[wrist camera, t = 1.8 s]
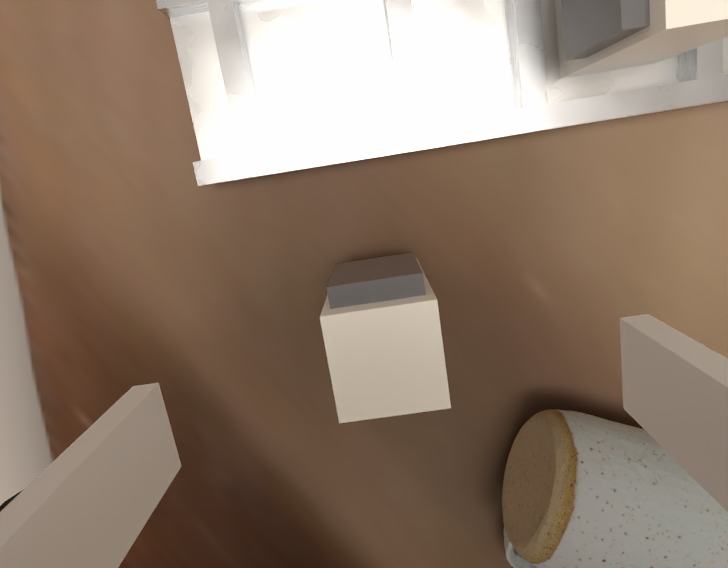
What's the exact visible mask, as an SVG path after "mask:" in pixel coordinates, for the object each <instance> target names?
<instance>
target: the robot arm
mask: <svg viewBox="0 0 728 568" xmlns="http://www.w3.org/2000/svg"><path fill="white" fill-rule="evenodd" d="M620 337H621V363H622V389H623V409H624V410H625V411H626V412H627V413H628V414H629V415H630V416H631V417H632V418H633V419H634V420H635V421H636V422H637V423H638V424H639V425H640V426H641V427H642V428H643V429H644V430H645V431H646V432H647V433H648V434H649V435H650V436H651V437H652V438H653V439H654V440H655V441H657V442H658V443H659V444H660V445H661V446H662V447H663V448H664V449H665V450H666V451H667V452H668V453H669V454H670V455H671V456H672V457H673V458H674V459H675V460H676V461H677V462H678V463H679V464H680V465H681V466H682V467H683V468H684V469H685V470H686V471H687V472H688V473H689V474H690V475H691V476H692V477H693V478H694V479H695V480H696V481H697V482H698V483H699V484H700V485H701V486H702V487H703V488H704V489H705V490H706V491H707V492H708V493H709V494H710V495H711V496H712V497H713V498H714V499H715V500H716V501H717V502H718V503H719V504H720V505H721V506H722V507H723V508H724V509H725V510H726V511H727V512H728V359H727V358H726V357H724V356H722V355H720V354H719V353H717V352H715V351H713V350H711V349H710V348H708V347H706V346H704V345H703V344H701V343H699V342H697V341H695V340H694V339H692V338H690V337H688V336H687V335H685V334H683V333H681V332H679V331H678V330H676V329H674V328H672V327H671V326H669V325H667V324H665V323H663V322H662V321H660V320H658V319H656V318H655V317H653V316H651V315H649V314H643V315H636V316H629V317H622V318H620ZM180 468H181V463H180V459H179V456H178V452H177V448H176V445H175V441H174V437H173V434H172V430H171V426H170V423H169V419H168V415H167V412H166V408H165V405H164V401H163V397H162V394H161V390H160V386H159V383H153V384H146V385H139V386H133V387H132V388H131V389H130V390H129V391H127V392H126V393H125V394H124V395H123V396H122V397H121V398H120V399H119V400H118V401H117V402H116V403H115V404H114V405H113V406H112V407H111V408H109V409H108V410H107V411H106V412H105V413H104V414H103V415H102V416H101V417H100V418H99V419H98V420H97V421H96V422H95V423H94V424H93V425H92V426H90V427H89V428H88V429H87V430H86V431H85V432H84V433H83V434H82V435H81V436H80V437H79V438H78V439H77V440H76V441H75V442H74V443H72V444H71V445H70V446H69V447H68V448H67V449H66V450H65V451H64V452H63V453H62V454H61V455H60V456H59V457H58V458H57V459H56V460H55V461H53V462H52V463H51V464H50V465H49V466H48V467H47V468H46V469H45V470H44V471H43V472H42V473H41V474H40V475H39V476H38V477H37V478H35V480H33V481H32V482H31V483H30V484H29V485H28V486H27V487H26V488H25V489H24V490H22V491H21V492H19V493H17V494H16V495H14V496H13V497H11V498H10V499H8V500H7V501H5V502H4V503H3V504H2V505H1V506H0V568H118V567H119V565H120V564H121V562H122V561H123V559H124V557H125V556H126V554H127V553H128V551H129V549H130V548H131V546H132V545H133V543H134V541H135V540H136V538H137V536H138V535H139V533H140V532H141V530H142V528H143V527H144V525H145V524H146V522H147V520H148V519H149V517H150V516H151V514H152V512H153V511H154V509H155V508H156V506H157V504H158V503H159V501H160V500H161V498H162V496H163V495H164V493H165V492H166V490H167V488H168V487H169V485H170V484H171V482H172V480H173V479H174V477H175V476H176V474H177V472H178V471H179V469H180Z"/></svg>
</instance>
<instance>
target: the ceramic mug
mask: <svg viewBox="0 0 728 568" xmlns="http://www.w3.org/2000/svg"><path fill="white" fill-rule="evenodd" d="M502 510H503V521H504V548H505V555H506V558H507V560H508V562H509V563H510V565H511V566H512V567H513V568H728V512H727V511H726V510H725V509H724V508H723V507H722V506H721V505H720V504H719V503H718V502H717V501H716V500H715V499H714V498H713V497H712V496H711V495H710V494H709V493H708V492H707V491H706V490H705V489H704V488H703V487H702V486H701V485H700V484H699V483H698V482H697V481H696V480H695V479H694V478H693V477H692V476H691V475H690V474H689V473H688V472H687V471H686V470H685V469H684V468H683V467H682V466H681V465H680V464H679V463H678V462H677V461H676V460H675V459H674V458H673V457H672V456H671V455H670V454H669V453H668V452H667V451H666V450H665V449H664V448H663V447H662V446H661V445H660V444H659V443H658V442H657V441H655V440H654V439H653V438H652V437H651V436H650V435H649V434H648V433H647V432H646V431H645V430H644V429H641V428H637V427H633V426H629V425H625V424H621V423H617V422H613V421H609V420H606V419H603V418H599V417H596V416H593V415H589V414H585V413H580V412H576V411H565V410H557V409H548V410H544V411H541V412H539V413H537V414H535V415H533V416H532V417H531V418H530V419H529V420H528V421H527V422H526V423H525V424H524V425H523V426H522V427H521V429H520V431H519V433H518V434H517V436H516V438H515V440H514V443H513V445H512V448H511V450H510V453H509V457H508V460H507V464H506V468H505V473H504V480H503V491H502Z"/></svg>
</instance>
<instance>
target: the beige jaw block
mask: <svg viewBox="0 0 728 568" xmlns="http://www.w3.org/2000/svg"><path fill="white" fill-rule="evenodd" d="M326 288H327V293H328V295H327V297H326V300H325V303H324V306H323V309H322V312H321V314H320V321H321V327H322V332H323V338H324V343H325V348H326V354H327V359H328V365H329V370H330V376H331V381H332V387H333V392H334V398H335V403H336V408H337V414H338V419H339V423H345V422H353V421H360V420H367V419H375V418H382V417H390V416H397V415H404V414H412V413H419V412H426V411H434V410H441V409H449V408H451V403H450V396H449V388H448V380H447V372H446V364H445V357H444V349H443V341H442V333H441V326H440V318H439V310H438V302H437V298H436V296H435V294H434V292H433V290H432V288H431V286H430V284H429V282H428V280H427V278H426V276H425V274H424V272H423V270H422V268H421V266H420V264H419V262H418V260H417V258H415V256H414V253H413V252H411V253H404V254H398V255H391V256H385V257H378V258H371V259H365V260H358V261H352V262H345V263H338V264H335V266H334V269H333V271H332V274H331V277H330V279H329V282H328V285H327V287H326Z"/></svg>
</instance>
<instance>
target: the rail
mask: <svg viewBox="0 0 728 568" xmlns="http://www.w3.org/2000/svg"><path fill="white" fill-rule="evenodd" d="M156 3H157V7H158V10H160V11H161V12H162V13H164V14H165V15H167V16H168V17H169V18H170V21H171V26H172V30H173V35H174V39H175V44H176V48H177V53H178V57H179V62H180V66H181V71H182V75H183V80H184V84H185V89H186V93H187V98H188V102H189V107H190V111H191V116H192V120H193V125H194V129H195V134H196V138H197V143H198V147H199V152H200V156H201V161H197V162H193V166H194V171H195V175H196V180H197V184H198V186H201V185H210V184H218V183H224V182H230V181H236V180H243V179H249V178H255V177H261V176H267V175H274V174H280V173H286V172H292V171H298V170H305V169H311V168H317V167H323V166H329V165H335V164H342V163H348V162H354V161H360V160H366V159H373V158H379V157H385V156H391V155H397V154H403V153H410V152H416V151H422V150H428V149H434V148H441V147H447V146H453V145H459V144H465V143H472V142H478V141H484V140H490V139H496V138H502V137H509V136H515V135H521V134H527V133H533V132H540V131H546V130H552V129H558V128H564V127H570V126H577V125H583V124H589V123H595V122H601V121H608V120H614V119H620V118H626V117H632V116H639V115H645V114H651V113H657V112H663V111H669V110H676V109H682V108H688V107H694V106H700V105H707V104H713V103H719V102H725V101H728V37H725V38H722V39H720V40H717V41H714V42H711V43H709V44H706V45H703V46H701V47H698V48H695V49H692V50H690V51H687V52H684V53H681V54H679V55H676V56H673V57H671V58H668V59H665V60H662V61H660V62H657V63H653V64H647V65H641V66H635V67H629V68H623V69H617V70H611V71H605V72H599V73H593V74H587V75H581V76H575V77H569V78H563V79H560V68H559V53H558V38H557V22H556V7H555V0H156Z"/></svg>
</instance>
